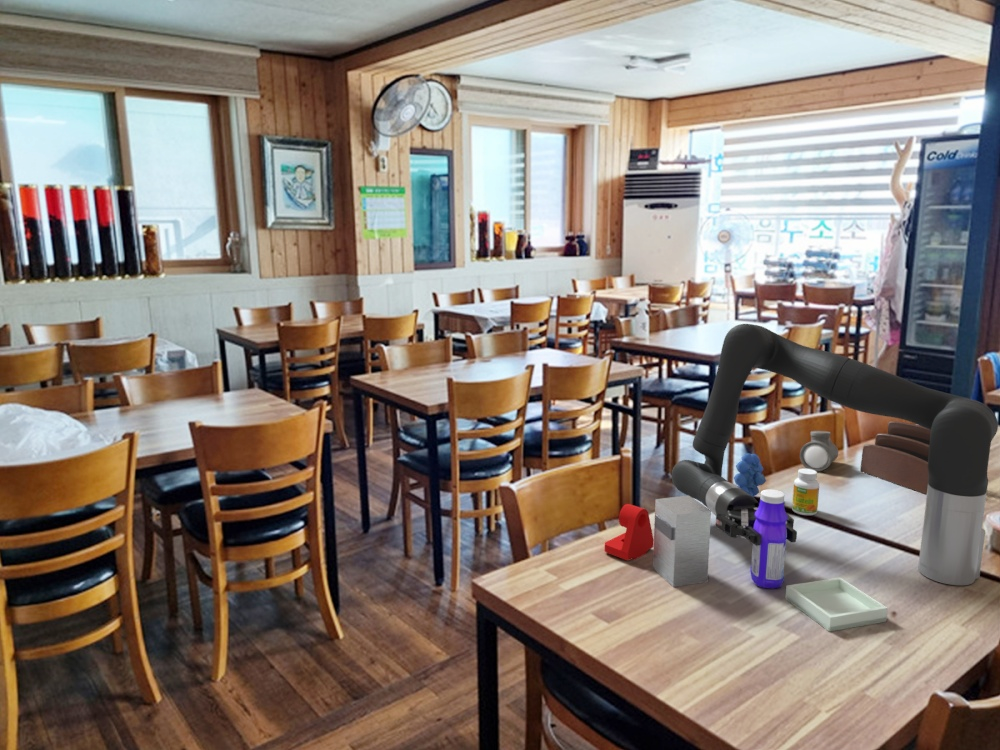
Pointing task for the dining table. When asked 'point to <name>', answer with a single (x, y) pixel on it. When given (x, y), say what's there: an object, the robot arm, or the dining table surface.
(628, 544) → the bracket
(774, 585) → the bottle
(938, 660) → the dining table surface
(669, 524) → the dispenser
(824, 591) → the tray
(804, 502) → the supplement bottle
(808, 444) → the pipe fitting
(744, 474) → the grapes
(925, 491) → the letter holder
